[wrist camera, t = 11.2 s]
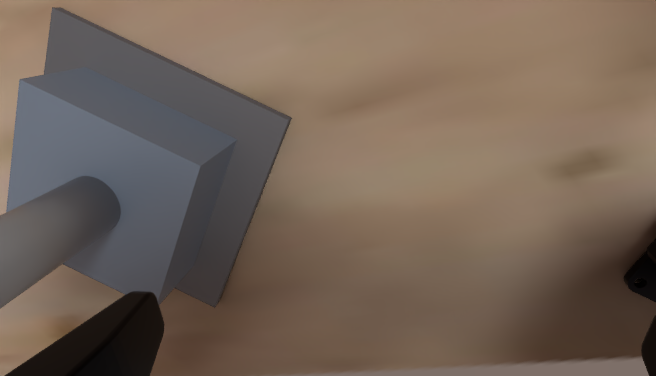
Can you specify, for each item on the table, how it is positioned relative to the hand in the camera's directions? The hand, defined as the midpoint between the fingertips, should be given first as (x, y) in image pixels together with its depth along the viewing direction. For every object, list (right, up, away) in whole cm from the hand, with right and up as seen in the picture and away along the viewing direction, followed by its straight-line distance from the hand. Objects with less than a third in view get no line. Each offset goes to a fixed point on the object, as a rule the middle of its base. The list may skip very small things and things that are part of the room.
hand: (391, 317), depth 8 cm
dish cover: (-11, +3, +14) cm, 18 cm away
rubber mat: (-11, +3, +15) cm, 19 cm away
